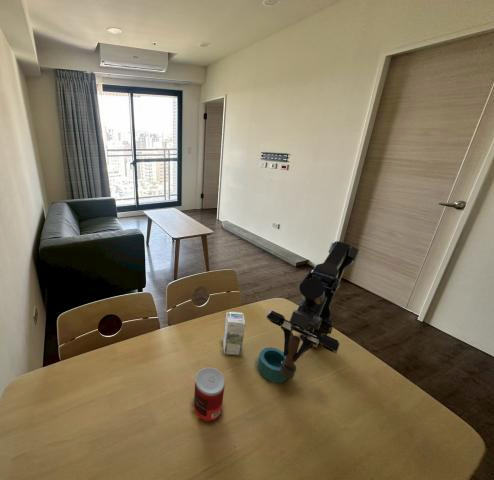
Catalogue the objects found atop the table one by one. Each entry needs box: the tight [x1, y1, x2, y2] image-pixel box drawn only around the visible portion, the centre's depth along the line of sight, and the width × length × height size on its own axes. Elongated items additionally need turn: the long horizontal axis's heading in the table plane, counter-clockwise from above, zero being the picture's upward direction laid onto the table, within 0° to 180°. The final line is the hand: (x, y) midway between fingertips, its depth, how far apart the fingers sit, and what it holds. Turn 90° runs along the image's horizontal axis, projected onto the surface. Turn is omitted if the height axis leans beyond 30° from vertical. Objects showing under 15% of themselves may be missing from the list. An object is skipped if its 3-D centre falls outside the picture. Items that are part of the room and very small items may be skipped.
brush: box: [280, 334, 301, 380], centre depth 71 cm, size 4×4×13 cm
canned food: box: [193, 367, 226, 422], centre depth 68 cm, size 8×8×11 cm
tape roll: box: [257, 346, 287, 383], centre depth 81 cm, size 9×9×5 cm
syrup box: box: [222, 311, 247, 356], centre depth 87 cm, size 6×6×14 cm
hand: (289, 358), depth 70 cm, fingers closed on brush, 2 cm apart
